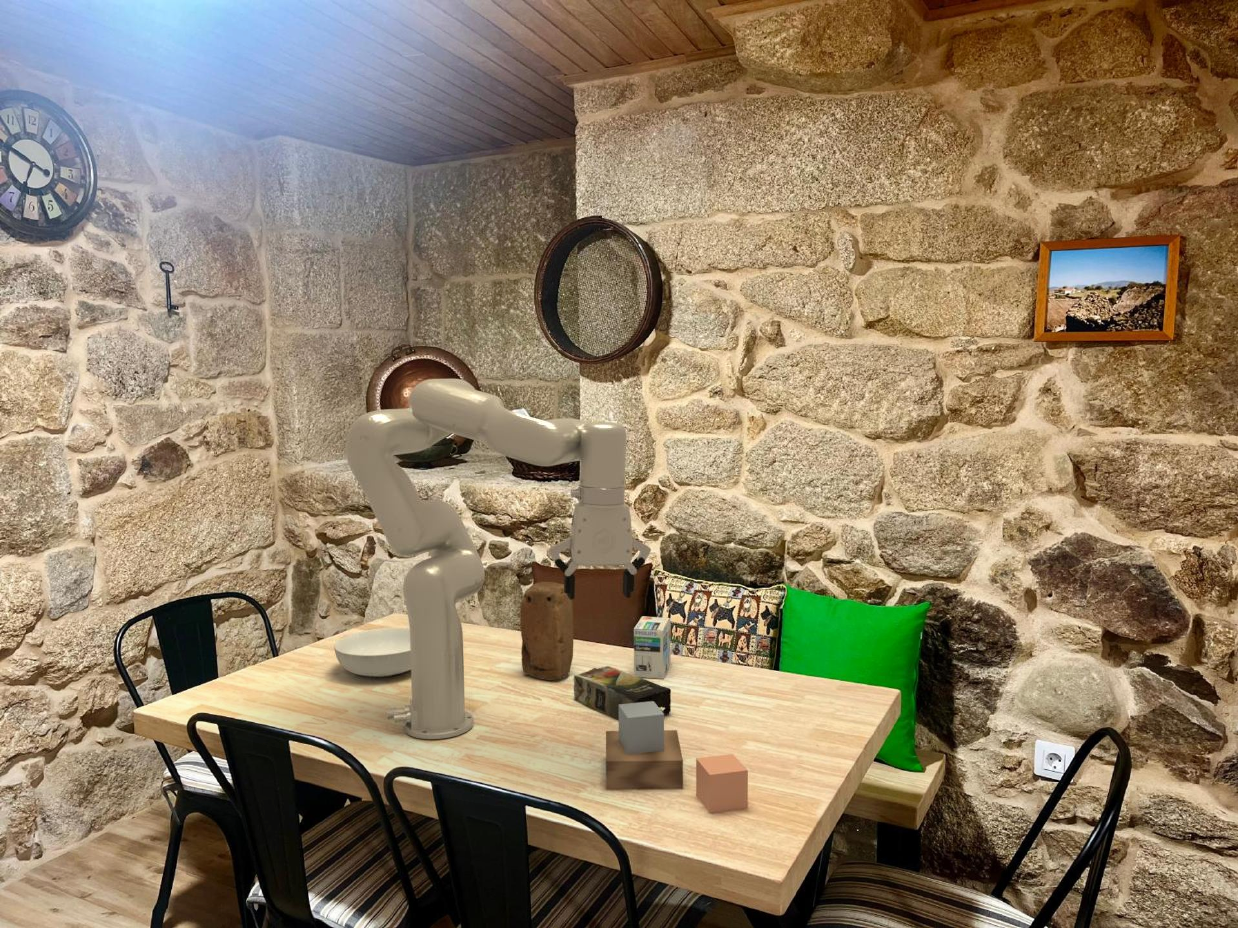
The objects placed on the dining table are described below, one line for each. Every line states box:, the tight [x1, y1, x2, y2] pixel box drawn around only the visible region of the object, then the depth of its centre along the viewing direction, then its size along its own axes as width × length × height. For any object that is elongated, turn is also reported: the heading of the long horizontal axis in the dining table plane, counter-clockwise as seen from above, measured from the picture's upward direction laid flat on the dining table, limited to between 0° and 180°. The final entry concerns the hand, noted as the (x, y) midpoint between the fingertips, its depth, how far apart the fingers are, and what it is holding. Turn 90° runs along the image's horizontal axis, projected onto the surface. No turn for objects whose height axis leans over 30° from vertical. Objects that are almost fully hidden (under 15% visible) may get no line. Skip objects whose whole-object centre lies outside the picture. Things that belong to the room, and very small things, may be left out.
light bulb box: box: [633, 615, 672, 680], centre depth 196 cm, size 11×7×11 cm, turn 168°
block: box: [519, 581, 574, 681], centre depth 193 cm, size 11×8×20 cm
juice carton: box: [573, 665, 672, 721], centre depth 175 cm, size 20×10×6 cm, turn 41°
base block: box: [605, 729, 684, 791], centre depth 146 cm, size 12×12×5 cm
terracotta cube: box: [695, 753, 749, 814], centre depth 136 cm, size 6×6×6 cm
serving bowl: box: [333, 627, 411, 678], centre depth 198 cm, size 21×21×7 cm
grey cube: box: [618, 701, 665, 754], centre depth 146 cm, size 6×6×6 cm
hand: (598, 596), depth 151 cm, fingers open, 9 cm apart
